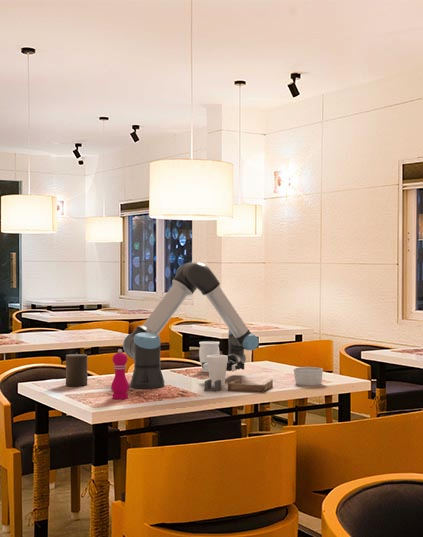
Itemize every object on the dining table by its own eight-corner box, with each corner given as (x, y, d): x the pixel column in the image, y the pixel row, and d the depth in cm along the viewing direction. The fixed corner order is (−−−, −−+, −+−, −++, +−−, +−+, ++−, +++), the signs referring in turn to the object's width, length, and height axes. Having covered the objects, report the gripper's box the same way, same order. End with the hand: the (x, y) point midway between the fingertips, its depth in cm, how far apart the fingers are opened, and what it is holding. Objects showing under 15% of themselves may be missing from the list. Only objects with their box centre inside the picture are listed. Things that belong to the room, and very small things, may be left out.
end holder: (264, 392, 319) (264, 385, 319) (227, 390, 324) (227, 383, 324) (272, 386, 334) (272, 379, 334) (237, 385, 339) (237, 378, 339)
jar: (196, 370, 388) (196, 341, 388) (216, 369, 391) (215, 340, 391) (202, 373, 378) (202, 343, 378) (222, 372, 381) (222, 342, 381)
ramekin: (313, 387, 332) (313, 371, 332) (288, 384, 340) (288, 369, 340) (328, 383, 342) (328, 368, 342) (303, 381, 350) (303, 366, 350)
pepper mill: (129, 396, 310) (129, 348, 310) (128, 399, 303) (128, 349, 303) (112, 396, 310) (111, 348, 310) (110, 399, 303) (110, 350, 303)
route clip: (217, 391, 322) (217, 381, 322) (204, 390, 324) (204, 381, 324) (221, 389, 328) (221, 379, 328) (208, 388, 330) (208, 379, 330)
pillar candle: (79, 387, 335) (79, 353, 335) (61, 386, 339) (61, 352, 339) (91, 384, 344) (91, 351, 344) (73, 383, 348) (74, 350, 348)
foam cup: (228, 383, 344) (228, 354, 344) (227, 386, 335) (226, 357, 335) (208, 383, 345) (207, 354, 345) (205, 386, 336) (205, 357, 336)
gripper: (256, 371, 356) (244, 377, 336) (206, 369, 364) (191, 375, 343) (256, 355, 356) (244, 360, 336) (205, 353, 364) (191, 358, 343)
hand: (218, 368), depth 340 cm, fingers open, 13 cm apart
